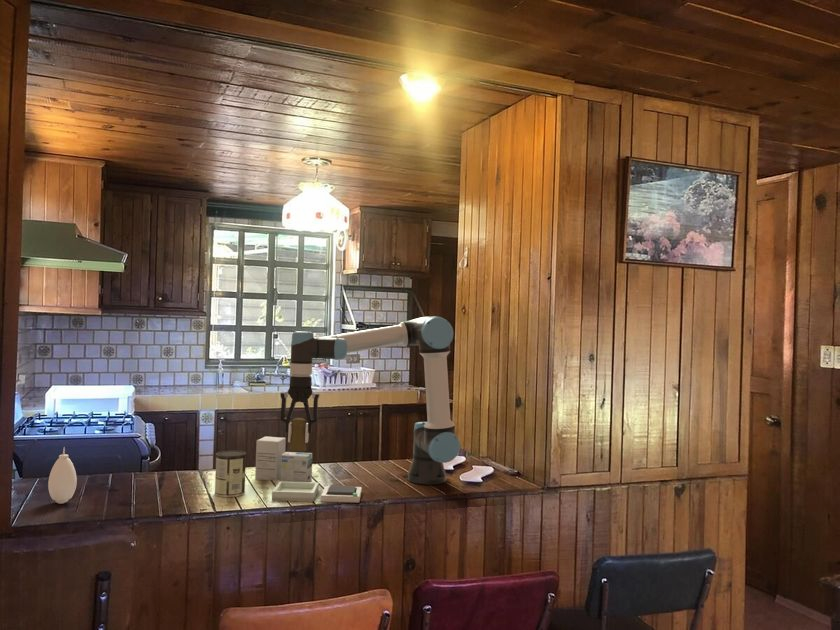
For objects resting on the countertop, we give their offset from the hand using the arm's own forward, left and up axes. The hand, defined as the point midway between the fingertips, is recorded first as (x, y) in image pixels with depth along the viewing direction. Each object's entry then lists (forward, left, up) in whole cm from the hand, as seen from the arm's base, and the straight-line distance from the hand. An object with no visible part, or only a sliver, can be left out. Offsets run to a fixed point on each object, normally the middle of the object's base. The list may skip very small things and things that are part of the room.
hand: (298, 441), depth 229 cm
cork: (0, 0, -3) cm, 3 cm away
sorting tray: (0, 0, -19) cm, 19 cm away
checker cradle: (-16, 0, -19) cm, 25 cm away
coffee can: (+23, 0, -19) cm, 30 cm away
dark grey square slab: (-16, 0, -18) cm, 24 cm away
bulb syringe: (+72, +17, -19) cm, 76 cm away
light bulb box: (+3, -19, -19) cm, 27 cm away
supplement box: (+14, -25, -19) cm, 34 cm away
